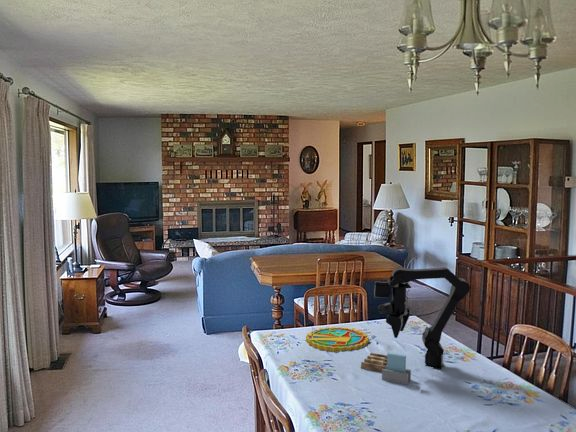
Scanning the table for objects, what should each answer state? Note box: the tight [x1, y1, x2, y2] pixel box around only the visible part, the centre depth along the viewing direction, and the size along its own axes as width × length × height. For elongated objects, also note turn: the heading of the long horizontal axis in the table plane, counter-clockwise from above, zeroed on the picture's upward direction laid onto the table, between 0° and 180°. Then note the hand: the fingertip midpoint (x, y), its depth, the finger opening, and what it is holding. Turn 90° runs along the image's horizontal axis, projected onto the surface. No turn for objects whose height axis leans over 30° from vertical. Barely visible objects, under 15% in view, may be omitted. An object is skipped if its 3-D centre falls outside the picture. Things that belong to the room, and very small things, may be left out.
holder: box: [381, 365, 412, 385], centre depth 198 cm, size 10×5×4 cm, turn 62°
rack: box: [359, 352, 387, 373], centre depth 212 cm, size 11×12×3 cm
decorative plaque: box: [305, 326, 370, 353], centre depth 244 cm, size 30×3×30 cm
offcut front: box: [369, 355, 385, 362], centre depth 212 cm, size 6×2×4 cm, turn 62°
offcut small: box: [371, 359, 384, 365], centre depth 208 cm, size 5×2×4 cm, turn 62°
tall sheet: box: [386, 352, 407, 373], centre depth 197 cm, size 7×2×10 cm, turn 62°
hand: (398, 334), depth 213 cm, fingers open, 9 cm apart
